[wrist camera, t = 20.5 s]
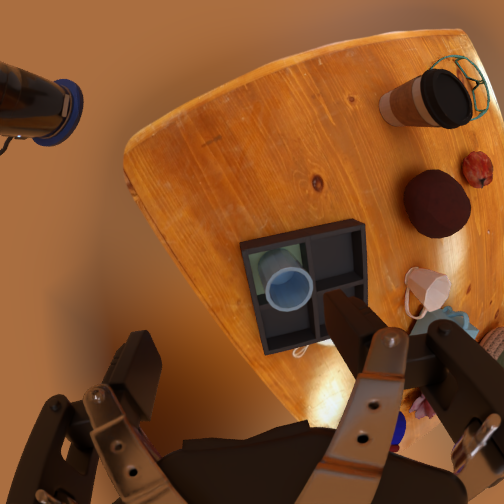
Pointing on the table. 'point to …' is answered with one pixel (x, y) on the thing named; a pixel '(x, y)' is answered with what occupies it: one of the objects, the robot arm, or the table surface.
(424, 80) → the coffee cup
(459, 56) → the sunglasses
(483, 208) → the table surface
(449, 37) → the table surface
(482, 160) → the pomegranate
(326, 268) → the black divided tray
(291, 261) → the blue cup
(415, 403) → the flower
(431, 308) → the cup
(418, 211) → the dark brown oval ball
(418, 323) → the teapot
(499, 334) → the planter
